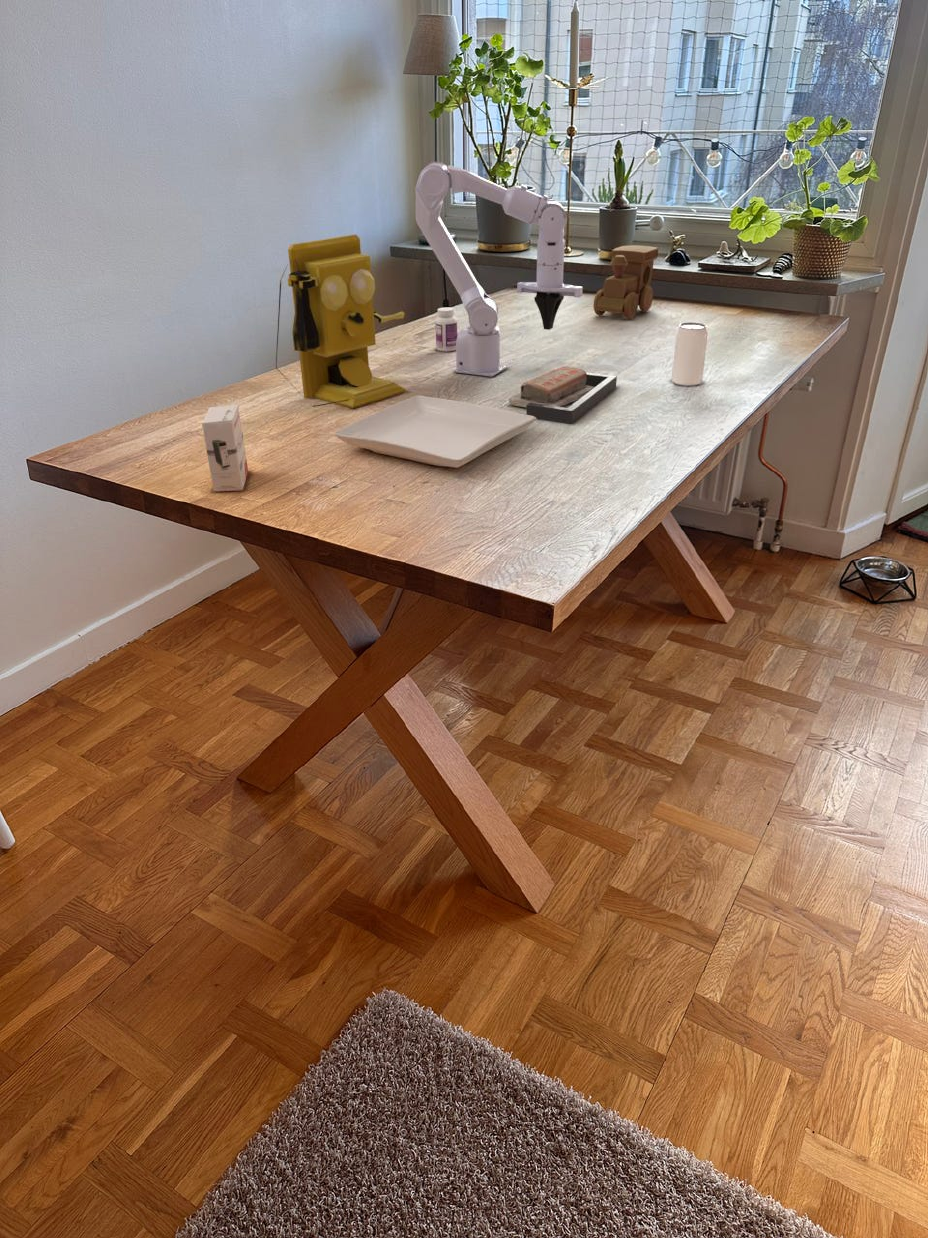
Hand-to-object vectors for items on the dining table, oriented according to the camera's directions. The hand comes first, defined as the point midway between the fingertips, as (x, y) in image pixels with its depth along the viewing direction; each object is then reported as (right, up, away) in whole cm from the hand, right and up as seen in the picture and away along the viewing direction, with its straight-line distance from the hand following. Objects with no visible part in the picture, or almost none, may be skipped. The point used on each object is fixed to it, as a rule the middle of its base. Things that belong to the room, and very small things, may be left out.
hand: (548, 328), depth 198 cm
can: (+30, -13, -4) cm, 33 cm away
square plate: (-24, -32, -35) cm, 53 cm away
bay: (+3, -20, -15) cm, 25 cm away
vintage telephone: (-42, -17, -9) cm, 46 cm away
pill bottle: (-23, +2, +23) cm, 32 cm away
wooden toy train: (+26, +22, +54) cm, 64 cm away
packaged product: (0, -19, -13) cm, 23 cm away
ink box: (-57, -42, -49) cm, 86 cm away
